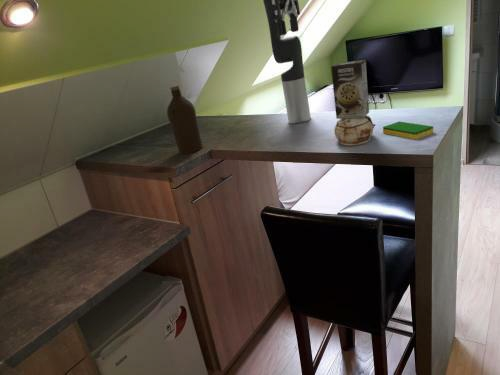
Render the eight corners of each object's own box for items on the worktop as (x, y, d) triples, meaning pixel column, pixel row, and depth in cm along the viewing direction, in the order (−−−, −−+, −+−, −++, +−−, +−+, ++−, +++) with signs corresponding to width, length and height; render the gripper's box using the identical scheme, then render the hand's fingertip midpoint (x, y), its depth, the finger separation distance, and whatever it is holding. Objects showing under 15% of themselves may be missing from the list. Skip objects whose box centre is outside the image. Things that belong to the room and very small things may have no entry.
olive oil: (205, 150, 150) (188, 84, 141) (178, 156, 149) (159, 90, 140) (203, 144, 160) (188, 82, 151) (177, 150, 159) (160, 88, 150)
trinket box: (350, 149, 117) (347, 123, 114) (324, 141, 130) (321, 118, 128) (387, 137, 121) (385, 112, 118) (357, 130, 134) (355, 107, 131)
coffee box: (335, 119, 122) (329, 66, 116) (341, 114, 127) (336, 62, 121) (365, 117, 117) (360, 62, 111) (370, 111, 122) (366, 58, 116)
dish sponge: (415, 140, 114) (415, 132, 113) (382, 134, 126) (382, 126, 125) (434, 134, 116) (434, 126, 115) (399, 128, 128) (399, 121, 127)
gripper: (279, -24, 120) (288, 32, 126) (256, -23, 110) (267, 38, 116) (301, -30, 116) (309, 28, 122) (280, -30, 105) (290, 33, 111)
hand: (289, 33), depth 119 cm, fingers open, 8 cm apart
